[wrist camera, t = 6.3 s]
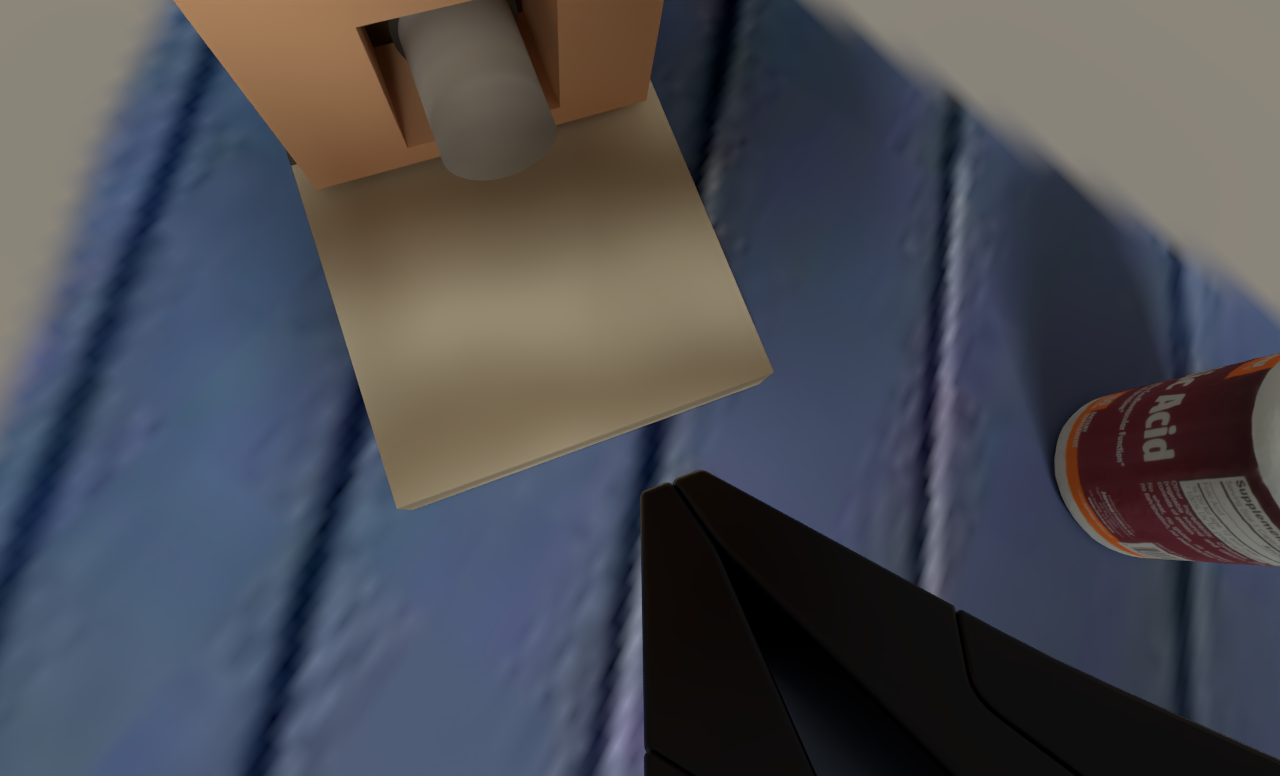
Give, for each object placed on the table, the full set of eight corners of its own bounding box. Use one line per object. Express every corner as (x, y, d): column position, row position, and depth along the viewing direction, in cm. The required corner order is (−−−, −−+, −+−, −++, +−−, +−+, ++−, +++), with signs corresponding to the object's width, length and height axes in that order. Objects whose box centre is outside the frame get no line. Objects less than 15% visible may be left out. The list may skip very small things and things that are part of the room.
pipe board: (757, 384, 18) (988, 208, 8) (412, 509, 17) (165, 482, 7) (598, 1, 21) (624, -513, 10) (277, 78, 19) (-66, -446, 9)
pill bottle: (1109, 364, 20) (1483, 251, 12) (1227, 480, 19) (1701, 445, 11) (1015, 470, 19) (1354, 426, 11) (1138, 594, 18) (1589, 647, 10)
